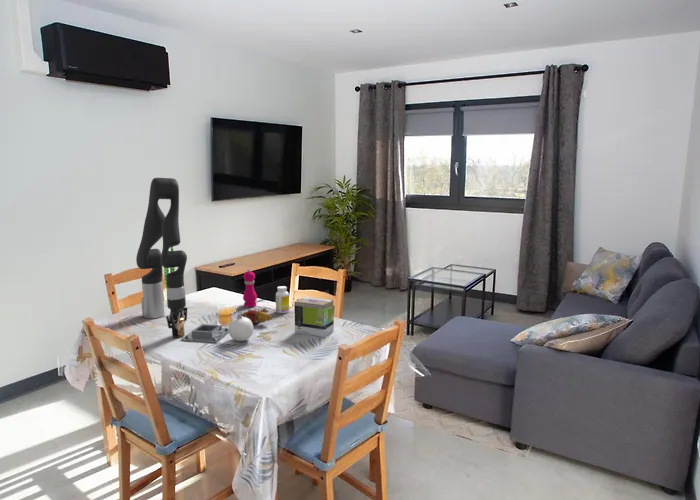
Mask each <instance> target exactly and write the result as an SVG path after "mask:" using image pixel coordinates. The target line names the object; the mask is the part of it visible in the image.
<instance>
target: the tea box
mask: <svg viewBox="0 0 700 500" xmlns="http://www.w3.org/2000/svg"><path fill="white" fill-rule="evenodd" d="M293 305H294V306H293V307H294V333H295V334H296V333H297V334H303V335H310V336H316V337H322V338H325V337H326V336H328V335H329V334H331V333H333V332H334V328H335V327H334V326H335V325H334V322H335V321H334V313H335V312H334V311H335V310H334V308H335V307H334V299H331V298H330V299H329V298H320V297H311V296H303V297H301V298H298V299H296V300H295V301H294V303H293Z"/></svg>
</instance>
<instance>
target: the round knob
mask: <svg viewBox="0 0 700 500" xmlns="http://www.w3.org/2000/svg"><path fill="white" fill-rule="evenodd" d="M184 317H185V316H184ZM184 317H183V318H182V317H181V318H180V319H179V323H178V326H177V328H178V336H177V337H173V336H172V338H173V339H182V338H183V337H185V336H186V335H185V323H184ZM174 321H177V320H174ZM174 324H175V323H174Z"/></svg>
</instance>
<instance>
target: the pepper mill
mask: <svg viewBox="0 0 700 500" xmlns="http://www.w3.org/2000/svg"><path fill="white" fill-rule="evenodd" d="M246 270H247V271H246V272H244V274H243V279H244V284H245V290H244V293H243V295H242V299H243V301H244V303H243V305H244V306H243V307H245V306H248V307H247V308H254V306H255V307H256V306H257V299H258V295H257V292H256V291H255V288H254V287H255V285H254V284H255V279H256V274H255V273H254V271H252V270H251V269H250V268H248V269H246Z"/></svg>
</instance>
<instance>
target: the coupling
mask: <svg viewBox="0 0 700 500" xmlns="http://www.w3.org/2000/svg"><path fill="white" fill-rule="evenodd" d="M228 334H229V327H222V325H220V324H205V323H202V324H200V325H199V326H196V328H194V329H193V330H192V331H190V332H189V333H187V334H186V335H185V336H184V337H181V338H180V340H181V342H195V343H207V344H208V343H209V344H217V343H218V342H220V341H221V340H223V339H224V338H225V337H226V336H227V335H228Z"/></svg>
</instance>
